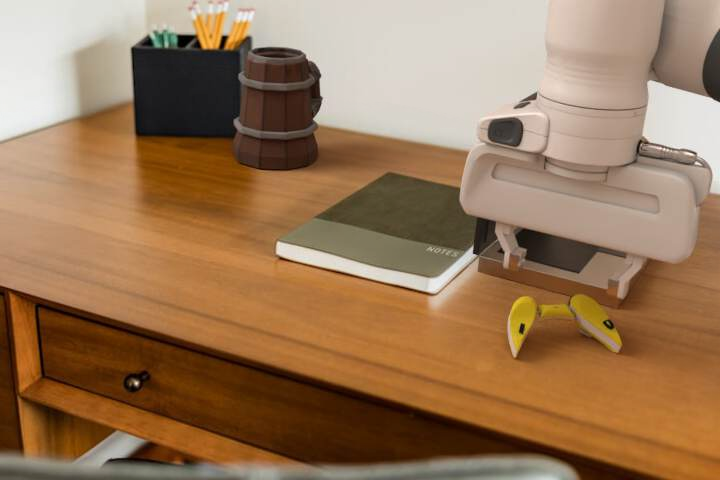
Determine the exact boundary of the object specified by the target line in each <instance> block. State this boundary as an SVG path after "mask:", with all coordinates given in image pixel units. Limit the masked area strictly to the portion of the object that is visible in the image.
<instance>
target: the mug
mask: <svg viewBox="0 0 720 480" xmlns="http://www.w3.org/2000/svg"><path fill="white" fill-rule="evenodd" d="M244 62H245V63H244V70H243V71H241V72H239V73H238V76H237V79H238V81H239V82H240V83H241V84H242V92H241V99H240V100H241V101H240V108H239V116H237V117H236V118H234V119H233V126H234V127H235V129H236V133H235V136H234V138H233V140H232V155H233V156H234V159H236V162H238V164H243V165H246V166H250V167H253V168H256V169H260V170H262V169H263V170H278V171H279V170H280V171H281V170H283V171H287V170H291V169H292V170H293V169H297V168H302V167H303V168H304V167H309V166H310V165H311V164H313V162H315V160H317V159H318V158H319V157H318V155H319V153H318V152H319V144H318V142H317V139H316V136H315V133H314V132H316V131H317V130H318V128H319V124H318V123H317V121H316V120H315V117H316V116H317V115H318V113H319V112H320V110H321V107H322V103H323V100H324V97H323V96H322V95H321V81H320V80H321V78H322V73H321V70H320V69H319V67H318V66H317V64H316V63H315V62H314V61H313V60H309V59H308V58H307V54H306V52H304V51H302V50H301V49H298V48H297V49H296V48H293V47H286V46H262V47H254V48H253V49H250V50H249V51H247V55H246V56H245V61H244Z"/></svg>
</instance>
